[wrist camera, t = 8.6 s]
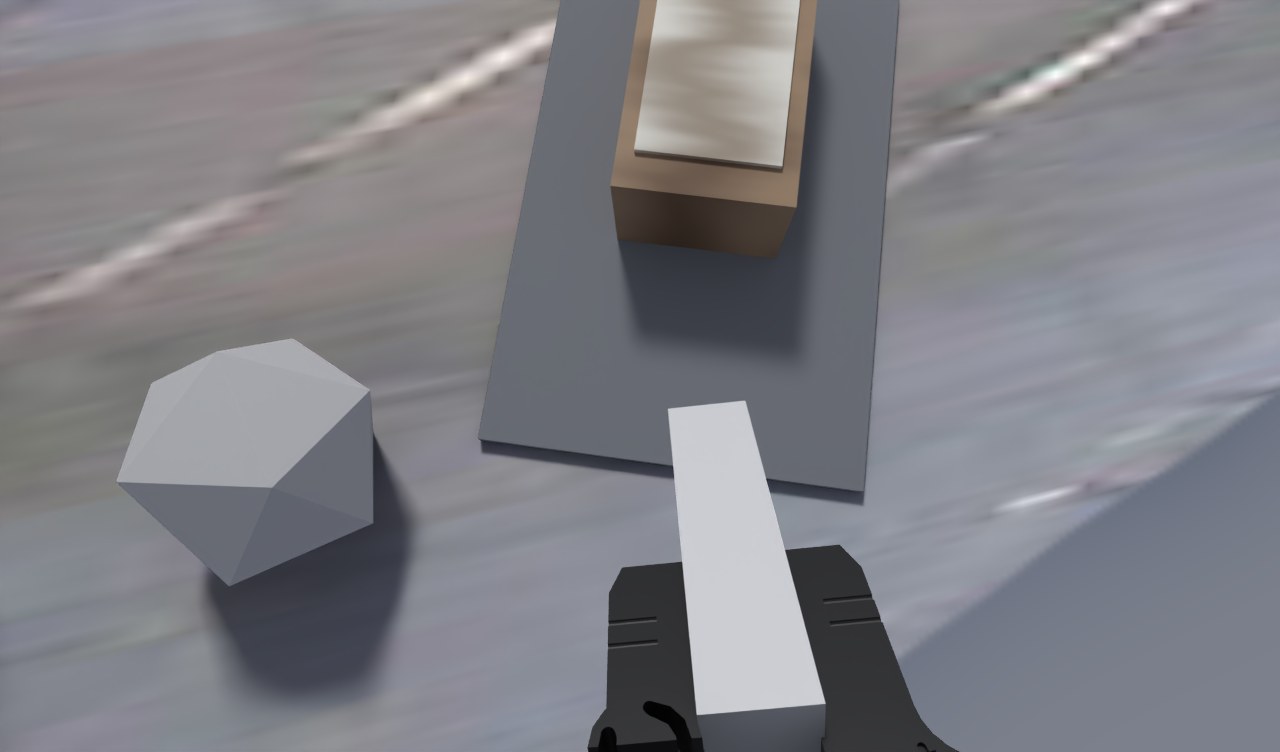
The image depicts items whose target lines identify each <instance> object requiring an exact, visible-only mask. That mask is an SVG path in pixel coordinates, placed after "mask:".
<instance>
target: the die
mask: <svg viewBox="0 0 1280 752" xmlns="http://www.w3.org/2000/svg"><path fill="white" fill-rule="evenodd" d="M116 482H117V483H118V484H119V485H120V486H121V487H122V488H123V489H124V490H125V491H126V492H128V493H129V494H130V495H131V496H132V497H133V498H134V499H135V500H136V501H137V502H138V503H139V504H140V505H142V506H143V507H144V508H145V509H146V510H147V511H148V512H149V513H150V514H151V515H152V516H153V517H155V518H156V519H157V520H158V521H159V522H160V523H161V524H162V525H163V526H164V527H165V528H166V529H167V530H169V531H170V532H171V533H172V534H173V535H174V536H175V537H176V538H177V539H178V540H179V541H180V542H182V543H183V544H184V545H185V546H186V547H187V548H188V549H189V550H190V551H191V552H192V553H193V554H194V555H196V556H197V557H198V558H199V559H200V560H201V561H202V562H203V563H204V564H205V565H206V566H207V567H209V568H210V569H211V570H212V571H213V572H214V573H215V574H216V575H217V576H218V577H219V578H220V579H221V580H223V581H224V582H225V583H226V584H227V585H228V586H231V585H234V584H236V583H238V582H241V581H243V580H245V579H247V578H250V577H252V576H254V575H256V574H259V573H261V572H263V571H266V570H268V569H270V568H272V567H275V566H277V565H279V564H281V563H284V562H286V561H288V560H291V559H293V558H295V557H297V556H300V555H302V554H304V553H306V552H309V551H311V550H313V549H316V548H318V547H320V546H322V545H325V544H327V543H329V542H332V541H334V540H336V539H338V538H341V537H343V536H345V535H347V534H350V533H352V532H354V531H357V530H359V529H361V528H363V527H366V526H368V525H370V524H372V523H373V423H372V410H371V397H370V390H369V389H367V388H366V387H364V386H363V385H361V384H360V383H358V382H357V381H355V380H354V379H353V378H351V377H350V376H348V375H347V374H345V373H344V372H342V371H341V370H339V369H338V368H336V367H335V366H333V365H332V364H330V363H329V362H327V361H326V360H324V359H323V358H321V357H320V356H318V355H317V354H315V353H314V352H312V351H311V350H309V349H308V348H306V347H305V346H303V345H302V344H300V343H299V342H297V341H296V340H294V339H293V338H292V339H287V340H281V341H275V342H269V343H264V344H258V345H252V346H246V347H241V348H235V349H229V350H224V351H218V352H215V353H213V354H211V355H209V356H207V357H205V358H203V359H201V360H198V361H196V362H194V363H192V364H190V365H188V366H186V367H184V368H182V369H180V370H178V371H176V372H174V373H172V374H170V375H167V376H165V377H163V378H161V379H159V380H157V381H155V382H153V383H151V386H150V389H149V391H148V394H147V397H146V400H145V403H144V405H143V408H142V411H141V414H140V417H139V419H138V422H137V425H136V428H135V431H134V433H133V436H132V439H131V442H130V445H129V447H128V450H127V453H126V456H125V459H124V461H123V464H122V467H121V470H120V473H119V476H118V478H117V481H116Z"/></svg>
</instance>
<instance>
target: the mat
mask: <svg viewBox="0 0 1280 752" xmlns="http://www.w3.org/2000/svg"><path fill="white" fill-rule="evenodd" d="M639 5H640V0H561V1H560V7H559V12H558V17H557V22H556V28H555V33H554V38H553V43H552V49H551V54H550V59H549V65H548V70H547V75H546V80H545V86H544V91H543V96H542V102H541V107H540V112H539V117H538V123H537V128H536V133H535V138H534V144H533V149H532V154H531V160H530V165H529V170H528V175H527V181H526V186H525V191H524V197H523V202H522V207H521V212H520V218H519V223H518V228H517V233H516V239H515V244H514V249H513V255H512V260H511V265H510V270H509V276H508V281H507V286H506V292H505V297H504V302H503V307H502V313H501V318H500V323H499V328H498V334H497V339H496V344H495V350H494V355H493V360H492V365H491V371H490V376H489V381H488V387H487V392H486V397H485V402H484V408H483V413H482V418H481V423H480V429H479V434H478V439H479V440H482V441H489V442H496V443H504V444H511V445H518V446H525V447H533V448H540V449H547V450H555V451H562V452H569V453H576V454H584V455H591V456H598V457H606V458H613V459H620V460H628V461H635V462H642V463H649V464H657V465H664V466H671V467H673V458H672V447H671V437H670V426H669V415H668V409H670V408H679V407H689V406H698V405H708V404H717V403H727V402H736V401H746V405H747V409H748V413H749V416H750V420H751V424H752V428H753V431H754V435H755V439H756V443H757V447H758V450H759V454H760V458H761V462H762V465H763V469H764V473H765V477H766V480H774V481H781V482H788V483H795V484H803V485H810V486H817V487H825V488H832V489H839V490H847V491H854V492H864V479H865V465H866V451H867V437H868V423H869V409H870V395H871V381H872V368H873V354H874V340H875V326H876V312H877V298H878V284H879V270H880V256H881V242H882V228H883V214H884V200H885V186H886V173H887V159H888V145H889V131H890V117H891V103H892V89H893V75H894V61H895V47H896V33H897V19H898V5H899V0H817V7H816V17H815V27H814V37H813V47H812V57H811V67H810V77H809V87H808V97H807V107H806V117H805V127H804V137H803V147H802V157H801V167H800V177H799V187H798V197H797V207H796V210H795V212H794V215H793V217H792V220H791V222H790V225H789V227H788V230H787V232H786V234H785V237H784V239H783V242H782V244H781V247H780V249H779V252H778V254H777V257H776V259H775V258H767V257H758V256H750V255H742V254H734V253H725V252H717V251H709V250H700V249H692V248H684V247H675V246H667V245H659V244H651V243H642V242H634V241H626V240H617V232H616V225H615V217H614V210H613V202H612V195H611V187H610V184H611V178H612V172H613V166H614V160H615V153H616V147H617V141H618V135H619V129H620V122H621V116H622V110H623V104H624V98H625V92H626V85H627V79H628V73H629V67H630V61H631V54H632V48H633V42H634V36H635V30H636V24H637V17H638V11H639Z"/></svg>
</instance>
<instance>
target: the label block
mask: <svg viewBox="0 0 1280 752" xmlns="http://www.w3.org/2000/svg"><path fill="white" fill-rule="evenodd" d="M816 7H817V0H640V5H639V11H638V17H637V24H636V30H635V36H634V42H633V48H632V54H631V61H630V67H629V73H628V79H627V85H626V92H625V98H624V104H623V110H622V116H621V122H620V129H619V135H618V141H617V147H616V153H615V160H614V166H613V172H612V178H611V184H610V187H611V195H612V202H613V210H614V217H615V225H616V232H617V240H626V241H634V242H642V243H651V244H659V245H667V246H675V247H684V248H692V249H700V250H709V251H717V252H725V253H734V254H742V255H750V256H758V257H767V258H775V259H776V257H777V254H778V252H779V249H780V247H781V244H782V242H783V239H784V237H785V234H786V232H787V230H788V227H789V225H790V222H791V220H792V217H793V215H794V212H795V210H796V207H797V197H798V187H799V177H800V167H801V157H802V147H803V137H804V127H805V117H806V107H807V97H808V87H809V77H810V67H811V57H812V47H813V37H814V27H815V17H816Z"/></svg>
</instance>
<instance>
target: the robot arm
mask: <svg viewBox="0 0 1280 752" xmlns="http://www.w3.org/2000/svg"><path fill="white" fill-rule="evenodd" d="M668 415H669V426H670V437H671V447H672V458H673V468H674V479H675V490H676V500H677V511H678V521H679V532H680V542H681V553H682V562H676V563H665V564H655V565H645V566H634V567H624V568H622V569H621V571H620V573H619V575H618V577H617V579H616V581H615V583H614V585H613V586H612V588H611V590H610V592H609V620H608V621H609V626H608V664H607V709H605V711H604V712H603V713H602V715H601V716H600V718H599V719H598V720H597V722H596V723H595V725H594V726H593V728H592V732H591V736H590V740H589V744H588V752H959V751H957V750H955V749H953V748H952V747H950V746H948V745H946V744H945V743H944V742H943V741H942V740H940V739H939V738H938V737H937V736H935V735H934V734H933V733H932V732H931V731H930V730H929V728H927V726H926V725H925V723H924V722H923V721H922V720H921V718H920V716H919V714H918V712H917V710H916V708H915V707H914V704H913V702H912V699H911V696H910V694H909V691H908V688H907V686H906V683H905V680H904V678H903V675H902V673H901V670H900V667H899V665H898V662H897V659H896V657H895V654H894V651H893V649H892V646H891V644H890V641H889V638H888V636H887V633H886V630H885V628H884V625H883V622H881V619H880V615H879V612H878V609H877V607H876V604H875V601H874V600H873V599H872V593H871V591H870V588H869V586H868V583H867V580H866V578H865V575H864V572H863V570H862V567H861V566H860V565H859V564H858V563H857V562H856V561H855V560H854V559H853V558H852V557H851V556H850V555H849V554H848V553H847V552H846V551H845V550H844V549H843V548H842V547H841V546H840V545H832V546H822V547H812V548H801V549H791V550H785V549H784V545H783V541H782V537H781V533H780V530H779V526H778V522H777V518H776V515H775V511H774V507H773V503H772V499H771V496H770V492H769V488H768V484H767V481H766V477H765V473H764V469H763V465H762V462H761V458H760V454H759V450H758V447H757V443H756V439H755V435H754V431H753V428H752V424H751V420H750V416H749V413H748V409H747V405H746V401H736V402H727V403H717V404H708V405H698V406H689V407H679V408H670V409H668Z"/></svg>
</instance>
